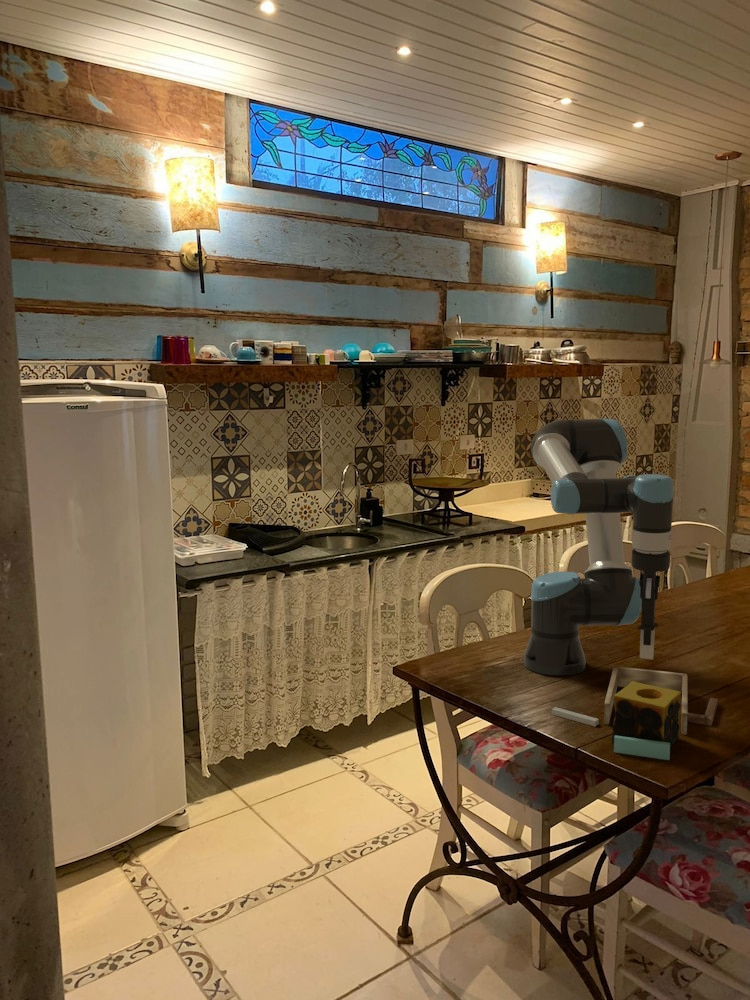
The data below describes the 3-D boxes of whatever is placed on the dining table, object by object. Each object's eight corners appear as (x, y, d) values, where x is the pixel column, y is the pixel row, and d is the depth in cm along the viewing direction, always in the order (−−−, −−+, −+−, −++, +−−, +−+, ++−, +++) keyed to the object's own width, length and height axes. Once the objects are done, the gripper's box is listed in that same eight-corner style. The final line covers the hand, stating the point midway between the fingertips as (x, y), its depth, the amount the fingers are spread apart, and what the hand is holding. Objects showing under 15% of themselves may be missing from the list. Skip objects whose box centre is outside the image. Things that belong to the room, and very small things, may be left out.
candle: (610, 743, 153) (611, 695, 152) (629, 726, 161) (630, 679, 160) (663, 758, 147) (664, 707, 146) (679, 738, 155) (681, 690, 154)
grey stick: (555, 713, 169) (555, 707, 169) (598, 725, 162) (598, 719, 162) (551, 715, 168) (551, 709, 167) (595, 728, 161) (595, 721, 161)
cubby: (604, 723, 162) (604, 703, 162) (613, 684, 183) (613, 666, 183) (686, 734, 156) (687, 713, 156) (686, 692, 178) (687, 673, 177)
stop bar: (613, 752, 150) (614, 737, 149) (614, 750, 151) (614, 735, 150) (669, 760, 146) (670, 745, 146) (669, 757, 147) (670, 742, 146)
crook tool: (686, 721, 163) (686, 715, 162) (694, 701, 173) (694, 695, 173) (711, 726, 160) (711, 719, 160) (717, 705, 171) (717, 698, 170)
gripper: (669, 558, 154) (664, 671, 158) (671, 543, 166) (666, 648, 170) (629, 555, 157) (625, 666, 161) (634, 541, 169) (630, 644, 173)
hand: (646, 657), depth 166 cm, fingers closed
